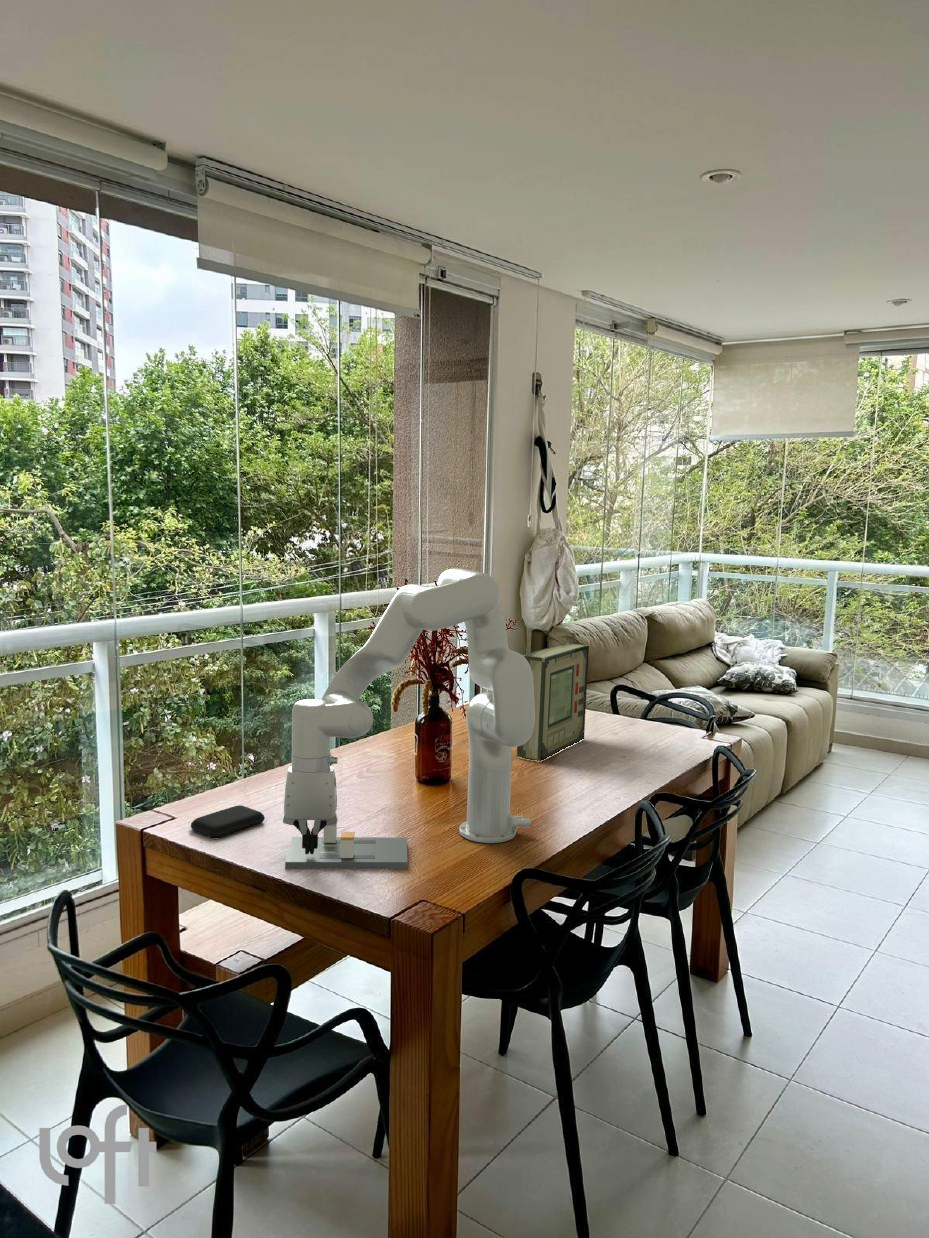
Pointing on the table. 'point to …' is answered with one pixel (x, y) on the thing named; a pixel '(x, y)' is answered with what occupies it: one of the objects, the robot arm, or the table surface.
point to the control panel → (557, 699)
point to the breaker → (330, 833)
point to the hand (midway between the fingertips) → (310, 851)
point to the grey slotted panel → (365, 856)
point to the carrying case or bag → (227, 821)
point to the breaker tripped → (347, 844)
